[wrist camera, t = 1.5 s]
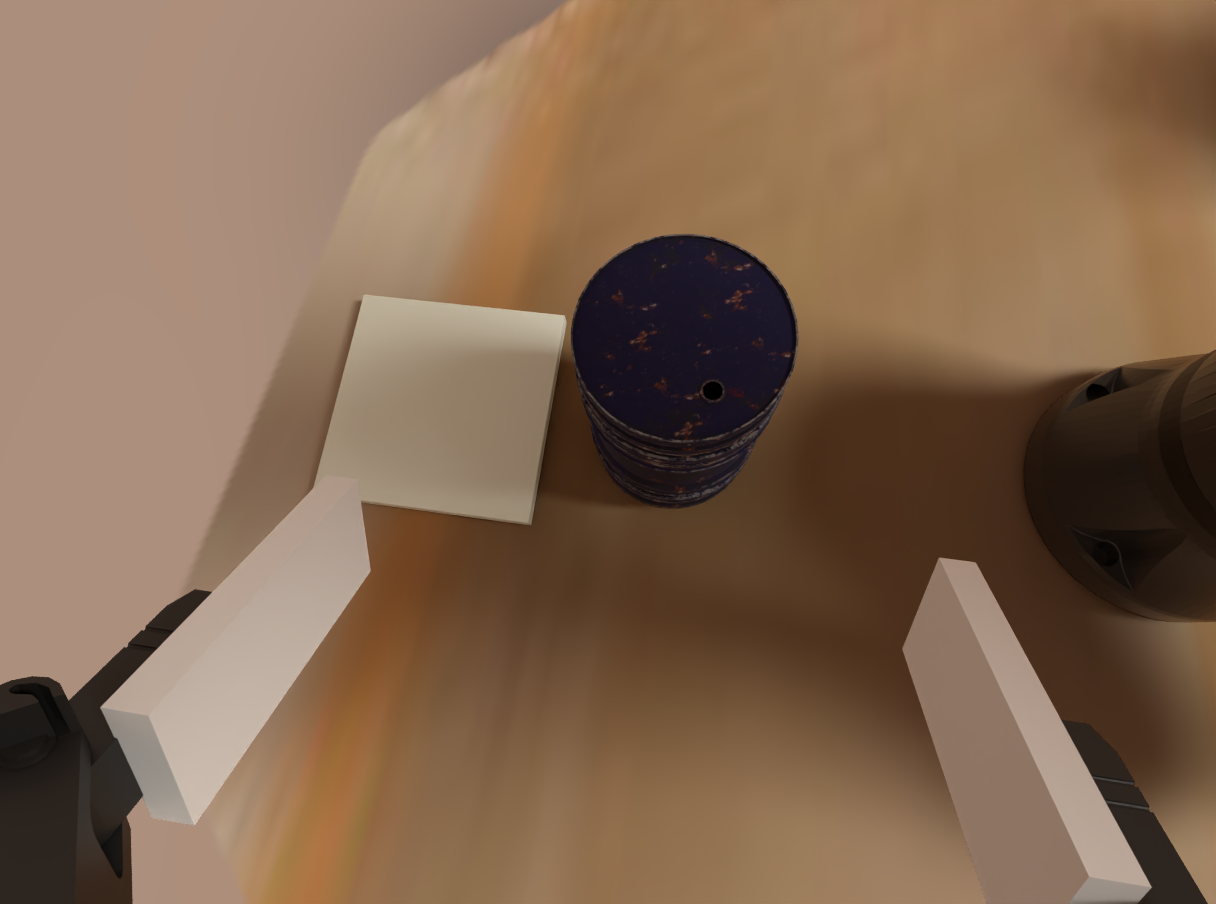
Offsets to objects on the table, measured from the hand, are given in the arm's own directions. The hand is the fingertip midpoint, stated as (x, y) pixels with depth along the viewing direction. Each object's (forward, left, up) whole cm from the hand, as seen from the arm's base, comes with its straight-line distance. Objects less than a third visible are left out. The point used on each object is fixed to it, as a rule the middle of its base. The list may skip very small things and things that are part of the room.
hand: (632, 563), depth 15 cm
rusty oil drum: (0, -11, -26) cm, 28 cm away
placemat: (+15, -11, -25) cm, 31 cm away
